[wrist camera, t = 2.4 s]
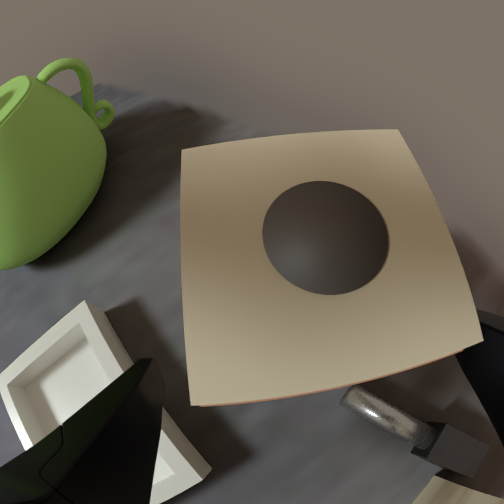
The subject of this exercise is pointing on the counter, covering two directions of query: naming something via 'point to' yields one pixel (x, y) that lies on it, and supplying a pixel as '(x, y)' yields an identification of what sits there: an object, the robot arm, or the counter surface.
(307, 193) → the block
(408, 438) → the pin gauge
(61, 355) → the tray
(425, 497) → the block
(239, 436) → the counter surface
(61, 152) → the teapot
